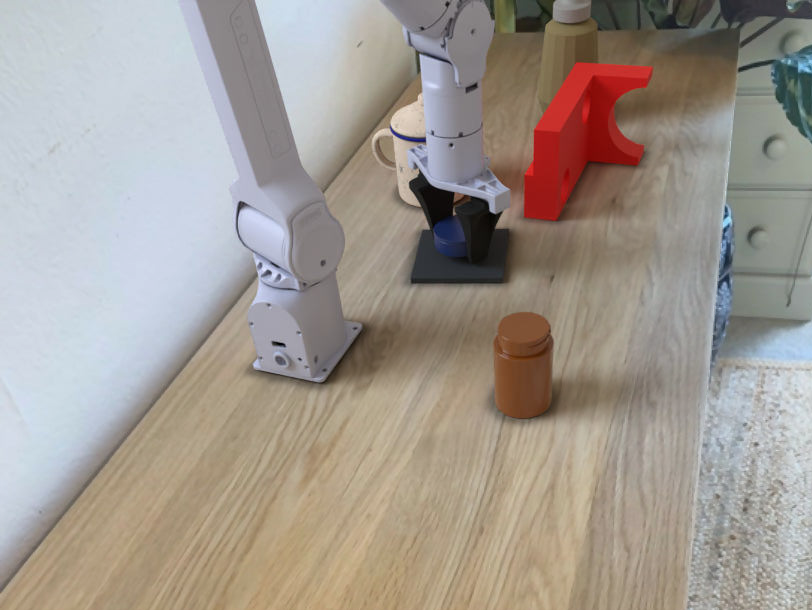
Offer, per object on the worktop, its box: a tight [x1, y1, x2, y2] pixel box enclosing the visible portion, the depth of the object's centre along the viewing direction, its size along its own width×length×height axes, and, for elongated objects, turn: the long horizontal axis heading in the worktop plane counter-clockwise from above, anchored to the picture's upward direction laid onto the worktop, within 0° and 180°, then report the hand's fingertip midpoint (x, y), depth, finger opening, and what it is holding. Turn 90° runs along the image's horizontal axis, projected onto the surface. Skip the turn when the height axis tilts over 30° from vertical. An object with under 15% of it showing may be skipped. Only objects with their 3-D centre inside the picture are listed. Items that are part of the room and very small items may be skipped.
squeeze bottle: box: [537, 0, 599, 115], centre depth 108 cm, size 8×8×18 cm
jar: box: [492, 311, 555, 419], centre depth 76 cm, size 5×5×8 cm
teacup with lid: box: [371, 91, 465, 208], centre depth 102 cm, size 12×9×12 cm
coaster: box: [410, 228, 510, 284], centre depth 95 cm, size 10×10×1 cm
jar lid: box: [434, 214, 467, 257], centre depth 93 cm, size 6×6×2 cm
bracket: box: [523, 62, 654, 222], centre depth 100 cm, size 18×10×10 cm
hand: (460, 249), depth 95 cm, fingers closed on jar lid, 5 cm apart
